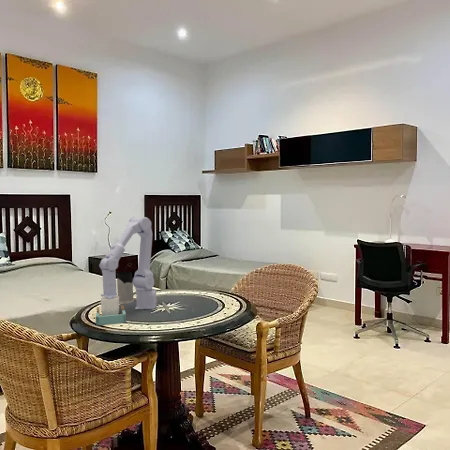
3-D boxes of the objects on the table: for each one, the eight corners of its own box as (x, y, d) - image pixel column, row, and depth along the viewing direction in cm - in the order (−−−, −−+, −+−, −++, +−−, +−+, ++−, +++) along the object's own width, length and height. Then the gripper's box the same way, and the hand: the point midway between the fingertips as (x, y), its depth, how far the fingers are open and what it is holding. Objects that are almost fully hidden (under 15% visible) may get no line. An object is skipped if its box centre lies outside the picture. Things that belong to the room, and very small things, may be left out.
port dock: (125, 317, 198) (125, 310, 198) (126, 322, 190) (125, 314, 190) (96, 320, 195) (95, 312, 195) (96, 325, 187) (95, 317, 187)
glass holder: (114, 301, 232) (113, 273, 231) (139, 297, 241) (138, 269, 240) (121, 304, 225) (120, 275, 224) (146, 300, 234) (145, 271, 233)
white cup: (100, 323, 191) (99, 300, 190) (102, 318, 199) (101, 296, 198) (119, 321, 192) (118, 298, 192) (120, 317, 200) (119, 295, 199)
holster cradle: (123, 311, 211) (123, 304, 211) (124, 315, 203) (124, 308, 203) (97, 313, 208) (96, 307, 208) (96, 317, 200) (96, 311, 200)
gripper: (100, 282, 207) (101, 311, 208) (100, 287, 193) (101, 318, 194) (115, 281, 209) (117, 309, 210) (117, 286, 195) (118, 317, 196)
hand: (110, 313), depth 202 cm, fingers closed
